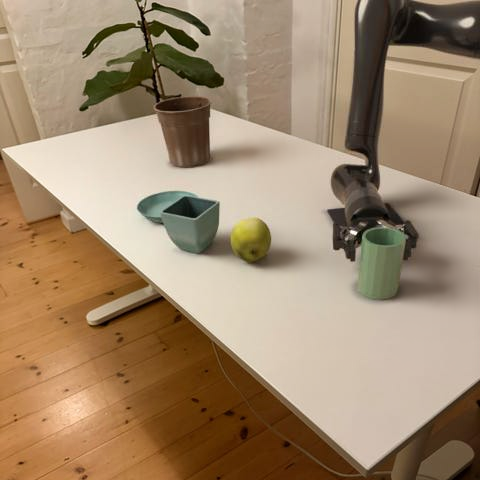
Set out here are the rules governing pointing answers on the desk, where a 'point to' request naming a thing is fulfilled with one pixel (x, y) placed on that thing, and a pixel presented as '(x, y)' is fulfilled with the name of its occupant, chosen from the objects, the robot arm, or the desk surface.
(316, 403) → the desk surface
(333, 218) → the mat
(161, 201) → the saucer
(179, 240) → the flower pot
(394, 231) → the cup
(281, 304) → the desk surface
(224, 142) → the desk surface
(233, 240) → the apple
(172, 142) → the plant pot
